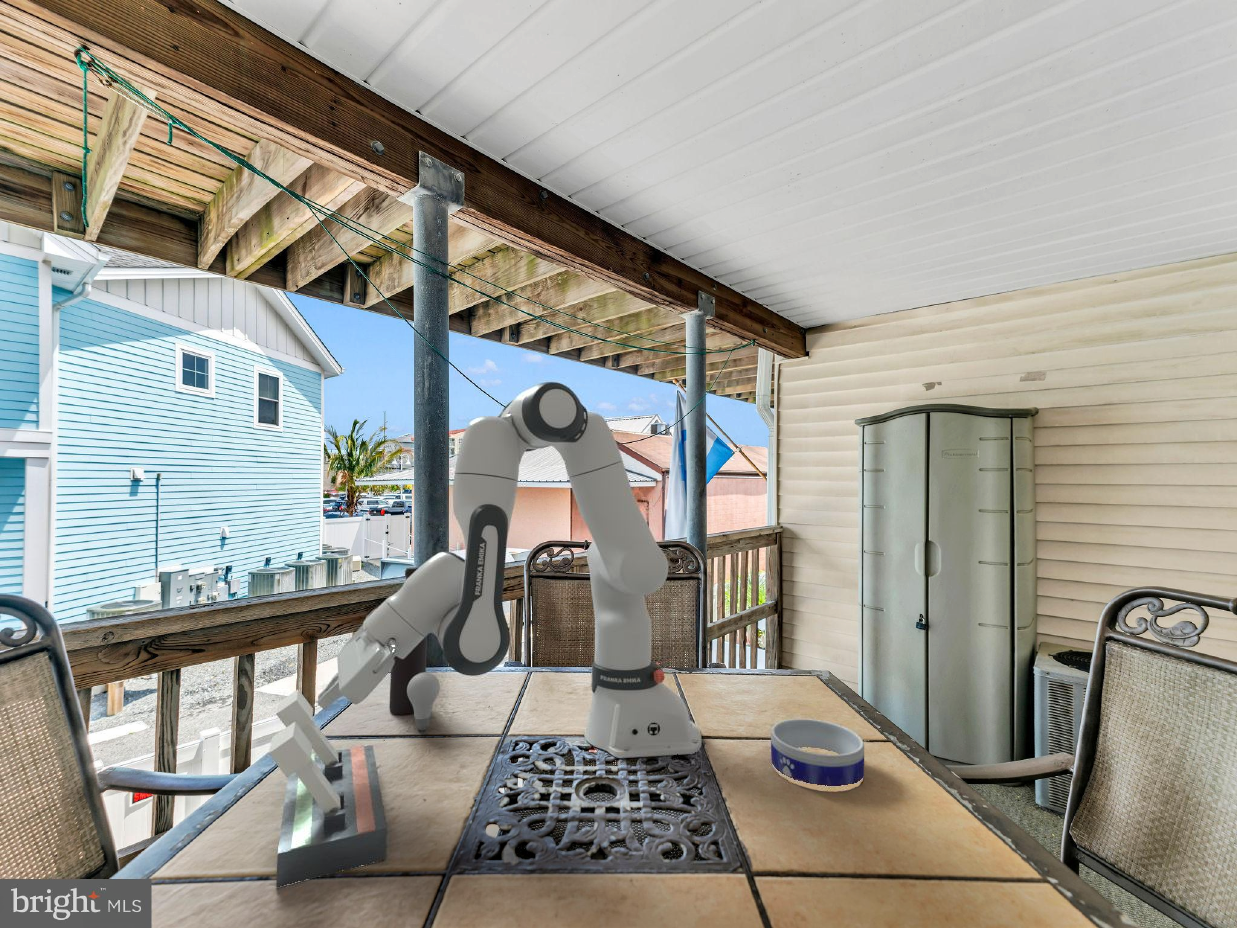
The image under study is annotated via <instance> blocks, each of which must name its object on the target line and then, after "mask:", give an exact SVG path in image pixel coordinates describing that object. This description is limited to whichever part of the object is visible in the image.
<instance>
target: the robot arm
mask: <svg viewBox="0 0 1237 928" xmlns="http://www.w3.org/2000/svg"><path fill="white" fill-rule="evenodd" d="M550 446H551V447H553V448H554V449H555V451H557V452H558V454H559V455H560V456H561V458H562V460H563V462H564V465H565V470H566V474H567V476H568V480H569V483H570V487H571V489H572V492H573V496H574V499H575V502H576V506H577V508H578V512H579V515H580V517H581V518H582V520H583V522H584V523H585V525H586V527H587V529H588V531H589V533H590V534H591V537H592V539H593V541H592V542H591V543H590V545H589V547H588V548H587V552H586V562H587V565H588V571H589V577H590V578H589V579H590V587H591V598H592V604H593V605H592V606H593V613H594V659H593V660H592V664H591V672H590V673H591V674H590V677H591V678H590V680H591V681H590V687H591V691H592V697H591V703H590V711H589V715H588V720H587V724H586V728H585V730H584V735H583V736H584V739H585V740H586V741H587V742H588V743H589V744H590V745H591V746H593V747H596V748H598V749H600V750H603V751H606V752H608V753H609V754H610V755H611V756H613V757H615V758H617V759H624V758H625V759H626V758H641V757H642V758H643V757H645V758H646V757H659V756H660V757H661V756H674V755H677V754H678V755H689V754H690V755H692V754H696V753H698V752H699V751H700V750H701V747H702V744H703V742H702V734H701V733H702V732H701V731H700V729H699V727H698V726H697V724H696V723H694V722H693V721H692V720H691V719H690V714H689V711H688V707H687V705H686V703H685V701H684V700H683V699H682V697H681V696H680V695H679V694H677V693H675V691H673V690H672V689H671V688H670V687H668V686H667V685H665V683H663V682H664V681H665V678H666V677H665V672H664V671H663V670H662V667H661V666H660V664H659V663H658V661H656V662H654V661H653V660H652V619H651V616H650V614H649V611H648V607H647V603H646V598H645V596H648V595H651V594H654V593H656V592H658V591H659V590H660V589H661V587H663V585H664V584H665V582H666V580H667V578H668V574H669V563H668V558H667V556H666V554H665V553H664V551H663V550H662V549H661V547H660V546H659V544H658V543H657V541H656V539H655V537H654V535H653V533H652V531H651V529H650V527H649V525H648V523H647V521H646V519H645V517H644V515H643V513H642V511H641V510H640V507H639V505H638V503H637V500H636V498H635V495H634V493H633V490H632V487H631V483H630V479H629V477H628V473H627V471H626V468H625V464H624V460H623V458H622V454H621V452H620V449H619V446H618V444H617V441H616V439H615V437H614V434H613V433H612V430H611V429H610V427H609V425H608V423H607V421H606V419H605V418H604V416H602V415H601V414H598V413H596V412H591V411H588V410H587V408H586V407H585V406H584V405H583V404H582V402H581V400H580V398H579V397H578V396H577V394H576V393H575V391H573V390H572V389H571V388H570V387H568V386H567V385H565V384H563V383H561V382H557V381H546V382H541V383H538V384H535V385H534V386H532V387H530V388H527V389H525V390H524V391H522V392H520V393H519V394H518V395H517V396H515V398H514V399H513V400H511V401H510V402H508V404H507V405H506V406H505V407H504V408H503V409H502V411H501V412H500V414H498V416H494V415H487V416H485V415H484V416H481V417H477V418H475V419H473V420H472V421H470V422H469V423H468V425H467V426H466V428H465V431H464V433H463V436H462V440H461V442H460V445H459V450H458V454H457V457H456V463H455V468H454V469H455V470H454V476H453V481H452V482H453V483H452V508H453V509H452V510H453V515H454V517H455V519H456V521H457V522H458V525H459V527H460V529H461V532H462V535H463V539H464V545H465V547H464V548H465V549H464V550H465V554H464V555H465V557H464V558H463V557H462V556H460V555H458V554H457V553H454V552H451V551H440V552H438V553H436V554H434V555H433V556H431V557H430V558H429V559H428V560H426V561H425V562H424V563H423V564H422V565H421V566H419V567H417V568H418V569H417V570H416V571H415V572H414V573H413V574H412V575H411V576H410V577H409V578H408V579H407V580H406V579H405V581H404V583H403V585H402V586H401V588H400V589H399V590H398V591H397V592H395V593H394V594H392V595H391V596H388V597H387V598H386V599H385V600H384V601H383V602H382V603H381V604H380V605H379V606H378V607H377V608H375V609H373V610H372V611H370V613H369V614H367V616H366V617H365V619H364V620H363V623H362V625H361V626H360V627H359V628H358V629H357V631H355V632H354V634H353V635H352V636H351V637H350V638H349V639H348V640H347V641H346V643H345V644H343V646H342V648H341V649H340V650H339V652H338V654H337V655H336V656H337V657H336V658H337V659H336V660H337V661H336V662H337V672H336V674H334V676H333V677H332V679H331V680H330V681H329V682H328V684H327V685H326V686H325V688H323V690H322V691H321V692H320V693H319V694H318V696H317V705H318V706H319V707H320V708H322V709H324V710H327V709H328V708H329V707H330V706H331V705H332V704H333V703H334V702H336V701H337V700H339V699H340V698H342V697H343V696H344V697H345V698H346V699H347V700H348V701H349V702H351V704H354V705H358V704H360V703H362V702H363V701H364V700H366V698H368V697H369V695H371V693H372V692H373V691H374V690H375V688H377V687H378V686H379V684H380V683H381V682H382V681H383V680H384V678H386V676H387V675H388V674H389V672H391V668H392V667H393V665H394V662H395V661H394V657H395V656H397V657H399V658H401V659H404V658H405V657H406V656H407V655H408V654H409V653H410V652H411V651H412V650H413V649H414V648H415V647H416V646H417V645H418V644H419V643H420V642H421V641H422V640H423V639H424V637H425V636H426V635H427V636H428V634H434V635H435V636H436V638H437V640H438V642H439V645H440V647H441V649H442V650H443V655H444V658H445V661H446V663H447V664H448V665H449V666H450V668H452V669H453V671H455V672H457V673H459V674H461V675H465V676H471V677H473V676H474V677H476V676H477V677H478V676H482V675H485V674H488V673H489V672H491V671H493V670H494V669H495V668H497V667H498V666H499V665H500V664H501V663H502V662H503V660H504V659H505V657H506V655H507V654H508V651H509V648H510V645H511V644H510V643H511V633H510V628H509V624H508V621H507V618H506V615H505V612H504V605H503V604H504V603H503V600H504V599H503V595H504V594H503V593H504V585H505V584H504V581H505V570H506V569H505V568H506V560H507V559H506V556H507V543H508V537H509V531H510V525H511V522H512V521H511V520H512V517H513V512H514V508H515V502H516V497H517V491H518V482H519V475H520V474H519V472H520V464H521V461H522V459H523V456H524V454H525V452H526V453H528V452H533V451H536V450H539V449H540V450H541V449H545V448H548V447H550ZM695 752H696V753H695Z"/></svg>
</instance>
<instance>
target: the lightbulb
mask: <svg viewBox="0 0 1237 928" xmlns="http://www.w3.org/2000/svg"><path fill="white" fill-rule="evenodd" d="M440 690H441V684H440V681H439V679H438V677H437V675H435V674H433V673H431V672H427V671H426V672H423V673H419V674H417V675H416V676H414V677H413V678H412V679H411V680H410V682H409V684H408V687H407V695H408V698H409V700H410V702H411V703H412V705H413V708H414V714H413V716H414V719H415V724H414V725H415V729H417V730H419V731H425V729H427V728H428V727H430V719H431V715H432V709H433V705H434V703H435V702H436V700H437V697H438V695H440V694H439V693H440Z"/></svg>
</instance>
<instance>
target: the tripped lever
mask: <svg viewBox="0 0 1237 928" xmlns="http://www.w3.org/2000/svg"><path fill="white" fill-rule="evenodd" d="M313 714H314V708H313V706H311V704H310V703H309V702H308V700H307V699H306V698H305V696H304V695H303V694H302V692H301V691H300V690H299V689H296V690H295V691H293V692H291V693H290V694H289V695H287V696H286V697H285V698H283V699H282V700H280V701H278V704H277V709H276V712H275V715H276V716H277V718H278V719H279V720H280V721H281V722H282V724H283V725H284V726H285V728H287V727H288V726H290V725H291V724H292V723H294V722H296V724H297V725H298V726H299V728H300V729H301V731H302V732H303V733H304V735H305V736H306V737H307V739H308V740H309V741H310V743H311V744H312V751H314V754H315V755H318V757H319V758H320V759H321V760H322V762H323V763H324V764H325V765H331V764H336V763H339V760H338V752H337V751H336V749H335V747H334V746H333V745H332V743H331V742H330V741H329V739H328V738H327V736H326V735H325V734H324V733H323V731H322V730H321V729H320V727H319V726H318V725H317V724H316V722H315V721H314V720H313V719H314V718H313V716H314V715H313Z"/></svg>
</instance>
